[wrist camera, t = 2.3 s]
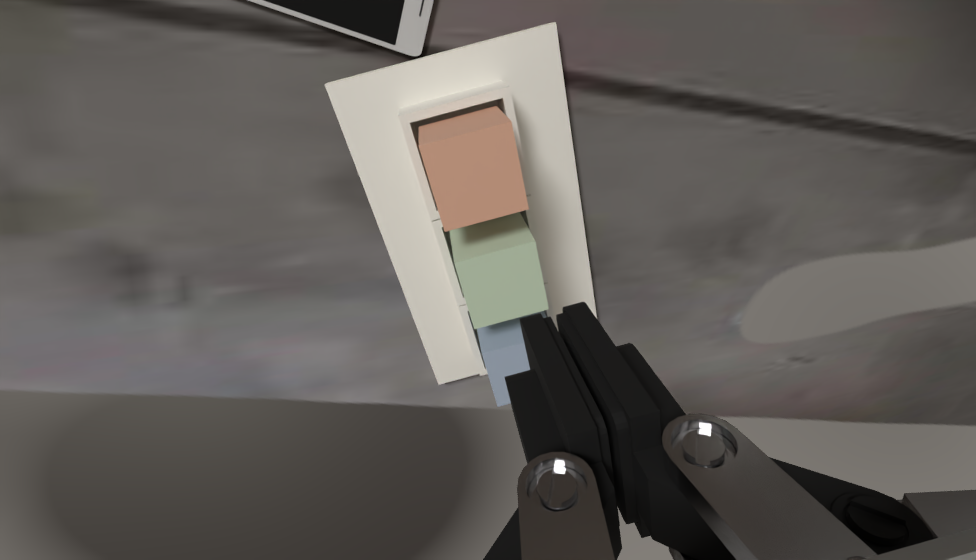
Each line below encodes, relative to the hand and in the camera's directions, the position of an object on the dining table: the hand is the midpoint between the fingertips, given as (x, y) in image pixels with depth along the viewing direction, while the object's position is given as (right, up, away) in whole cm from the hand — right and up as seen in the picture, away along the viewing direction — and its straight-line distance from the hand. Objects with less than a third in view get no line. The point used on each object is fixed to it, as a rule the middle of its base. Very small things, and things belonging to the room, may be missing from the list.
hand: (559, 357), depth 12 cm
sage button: (-2, +4, +19) cm, 20 cm away
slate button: (0, -2, +22) cm, 22 cm away
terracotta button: (-3, +9, +16) cm, 19 cm away
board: (-2, +6, +22) cm, 23 cm away
